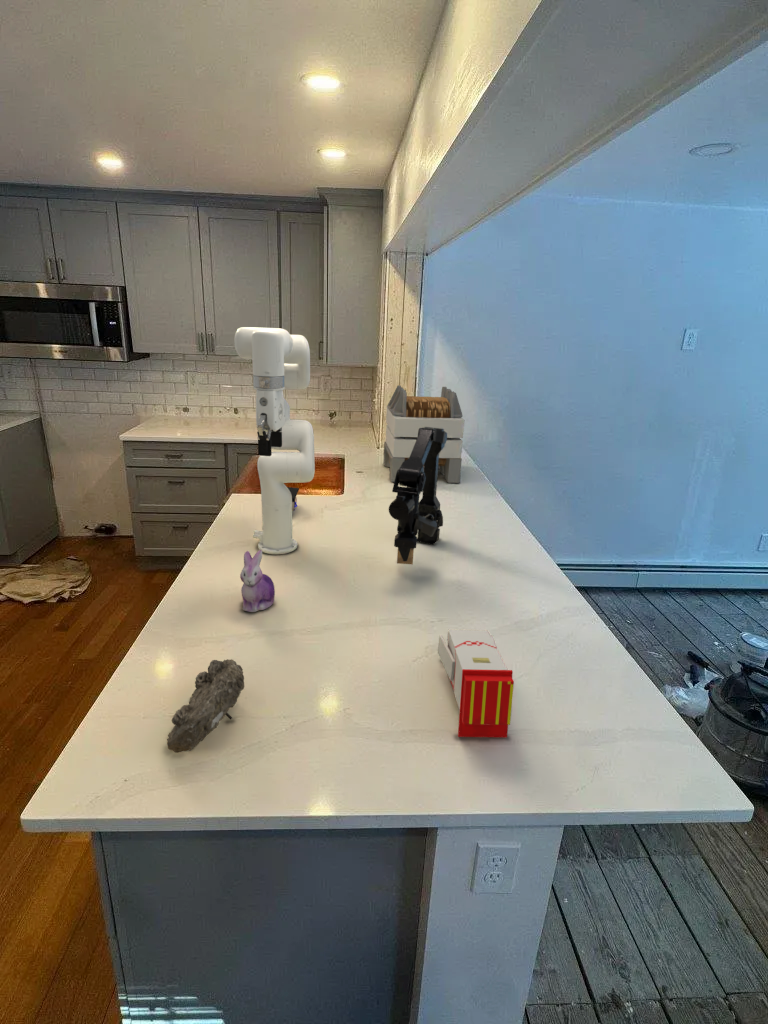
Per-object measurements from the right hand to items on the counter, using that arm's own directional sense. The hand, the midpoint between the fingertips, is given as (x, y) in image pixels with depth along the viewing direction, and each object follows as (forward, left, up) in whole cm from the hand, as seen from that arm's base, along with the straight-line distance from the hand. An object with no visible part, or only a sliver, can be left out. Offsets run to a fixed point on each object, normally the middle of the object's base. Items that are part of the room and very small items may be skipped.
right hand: (405, 558), depth 169 cm
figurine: (-27, -37, -5) cm, 46 cm away
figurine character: (-60, +28, -5) cm, 66 cm away
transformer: (-35, +105, -5) cm, 111 cm away
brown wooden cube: (0, 0, -1) cm, 1 cm away
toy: (+33, -46, -5) cm, 57 cm away
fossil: (-9, -77, -5) cm, 77 cm away
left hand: (-28, -27, +34) cm, 52 cm away
